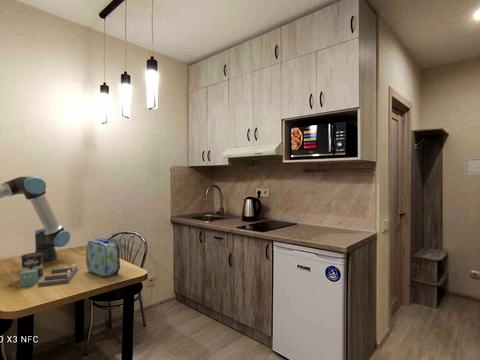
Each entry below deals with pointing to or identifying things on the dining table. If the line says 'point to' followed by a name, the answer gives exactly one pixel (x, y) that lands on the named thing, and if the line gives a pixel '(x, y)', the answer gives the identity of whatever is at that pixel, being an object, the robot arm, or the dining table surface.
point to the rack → (59, 276)
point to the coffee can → (33, 263)
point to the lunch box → (103, 257)
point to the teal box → (28, 278)
